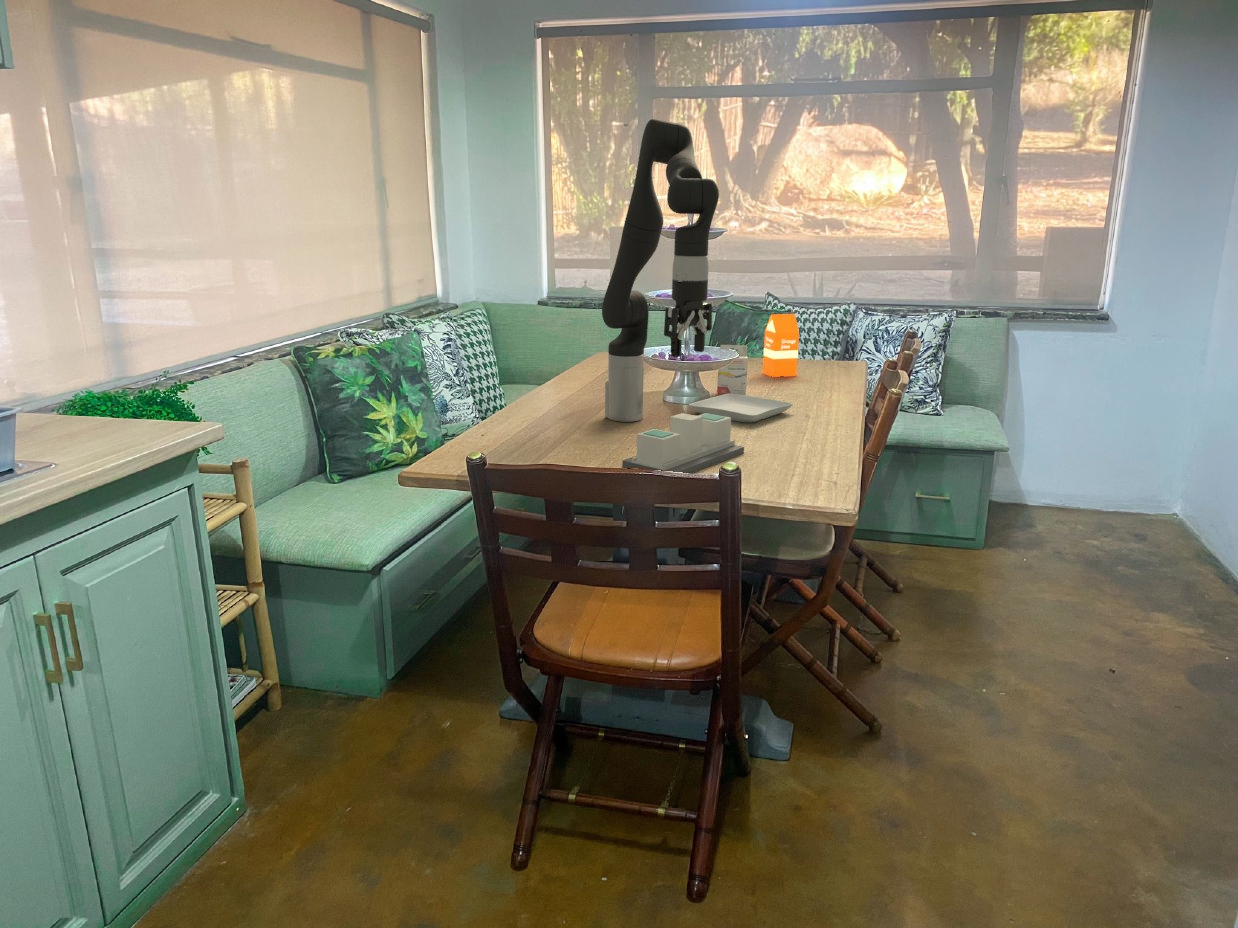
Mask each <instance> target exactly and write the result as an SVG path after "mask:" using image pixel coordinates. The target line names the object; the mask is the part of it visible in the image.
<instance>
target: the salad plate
mask: <svg viewBox="0 0 1238 928" xmlns="http://www.w3.org/2000/svg"><path fill="white" fill-rule="evenodd" d="M688 406H689V408H690V409H691V410H693V411H694V412H696V413H698V414H700V415H701V414H705V413H708V414H714V415H719V416H725V417H730V418H731V421H733V422H740V423H741V422H742V423H755V422H758V421H762V420H764V419H768V418H770V416H771V417H773V415H774V416H776V415H779V414H781V413H785V412H786V411H787V410H789V409H791V408H792V406H793V403H792V402H788V401H782V400H776V399H771V398H766V397H760V396H759V397H758V396H752V395H747V394H746V395H738V394H731V393H728V394H724V395H720V396H713V397H709V398H706V399H702V400H701V399H700V400H698V401H695V402H692V403H689V404H688ZM761 419H762V420H761Z"/></svg>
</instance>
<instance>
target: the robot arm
mask: <svg viewBox="0 0 1238 928" xmlns="http://www.w3.org/2000/svg"><path fill="white" fill-rule="evenodd" d="M695 158H696V156H695V147H694V141H693V135H692V132H691V130H690V129H689V128H688V127H687V126H686V125H683V124H680V123H675V122H671V121H667V120H663V119H657V118H651V119H649V121H647V123H646V124H645V127H644V130H643V133H642V139H641V143H640V148H639V155H638V161H637V162H638V163H637V166H636V167H637V168H636V173H635V179H634V184H633V187H632V188H633V189H632V193H631V197H630V200H629V205H628V208H627V212H626V216H625V220H624V224H623V228H622V233H621V238H620V243H619V248H618V251H617V256H616V259H615V263H614V267H613V270H612V273H611V276H610V280H609V282H608V285H607V288H606V291H605V294H604V296H603V301H602V305H601V307H602V308H601V316H602V321H603V323H604V324H605V325H606V327H607V328H609V329H618V330H619V329H621V331H620V333H619V335H618V336H617V337H615V338H614V339H613V340H611V341H610V342H609V343H608V349H607V350H608V354H607V355H608V358H607V359H608V360H607V361H608V365H607V366H608V367H607V368H608V372H607V373H608V376H607V379H608V380H607V381H605V385H604V396H605V397H604V413H605V414H604V417H605V418H607V419H609V420H610V421H614V422H622V423H623V422H624V423H628V422H629V423H631V422H638V421H641V420H643V418H644V417H643V416H644V360H645V358H644V355H645V354H644V353H645V347H646V344H647V342H648V341H647V339H648V332H649V331H648V330H649V304H648V300H647V297H646V296H645V294H644V293H642V291H639V290H633V288H634V287H633V286H634V283H635V281H636V279H637V277H638V275H640V273H641V271H642V270H643V269H644V267H645V266H646V265H647V263H648V262H649V261H650V259H651V258H652V256H653V255H654V253H655V252H656V251H657V247H658V246H659V242H660V238H661V234H662V230H663V226H664V214H663V211H662V209H661V204H660V202H659V199H658V196H657V194H656V191H655V190H656V189H655V186H654V181H653V165H654V163H659V164H664V165H666V166H665V167H666V168H665V176H666V180H667V182H668V184H669V185H668V190H667V194H666V195H667V197H666V198H667V201H666V202H667V205H668V207H669V209H670V211H671V212H673V213H675V214H679V215H699V216H698V218H697V220H696V221H695V222H694V223H692V224H688V225H683V226H679V227H677V228H676V230H675V232H674V254H673V255H674V256H673V257H674V258H673V261H672V279H671V280H672V281H671V282H672V284H671V299H672V300H673V301H675V307H666V308H665V311H664V326H663V335H664V337H668V338H669V339H670V356H671V357H674V358H680V357H682V344H683V342H682V341H683V340H682V337H683V335H684V333H685V331H687V330H688V328H690V327H692V328H693V331H694V338H693V339H694V341H693V343H694V345H693V350H694V352H699V353H703V352H704V351H705V345H706V341H705V340H706V335H707V334H708V333H707V332H710V331H712V329H713V327H712V326H713V318H712V316H713V304H712V303H710V302H706V301H708V293H709V292H708V289H709V287H708V285H709V284H708V283H709V259H708V255H709V237H710V230H711V226H712V222H713V219H714V214H715V213H716V210H717V206H718V203H719V198H720V189H719V187H718V184H717V182H716V181H714V180H713V179H710V178H703V176H702V173H701V170H700V168H699V167H698V164H697V163H696V159H695ZM670 326H671V330H670Z"/></svg>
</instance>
